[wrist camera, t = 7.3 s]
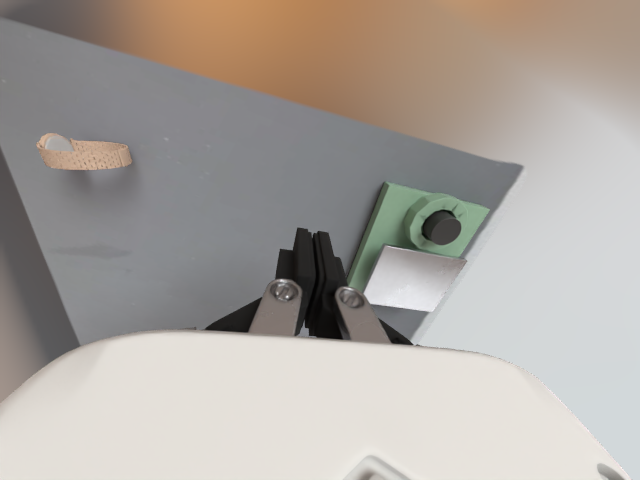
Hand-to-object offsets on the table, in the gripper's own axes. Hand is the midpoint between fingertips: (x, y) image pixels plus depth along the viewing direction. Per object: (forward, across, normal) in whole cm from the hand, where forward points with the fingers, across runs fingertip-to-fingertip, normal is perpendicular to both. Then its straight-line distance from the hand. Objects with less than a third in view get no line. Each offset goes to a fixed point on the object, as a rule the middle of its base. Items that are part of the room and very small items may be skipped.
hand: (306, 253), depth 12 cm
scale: (+12, -14, +5) cm, 19 cm away
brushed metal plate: (+9, -14, +7) cm, 18 cm away
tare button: (+10, -14, 0) cm, 17 cm away
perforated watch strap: (+12, +17, 0) cm, 21 cm away
